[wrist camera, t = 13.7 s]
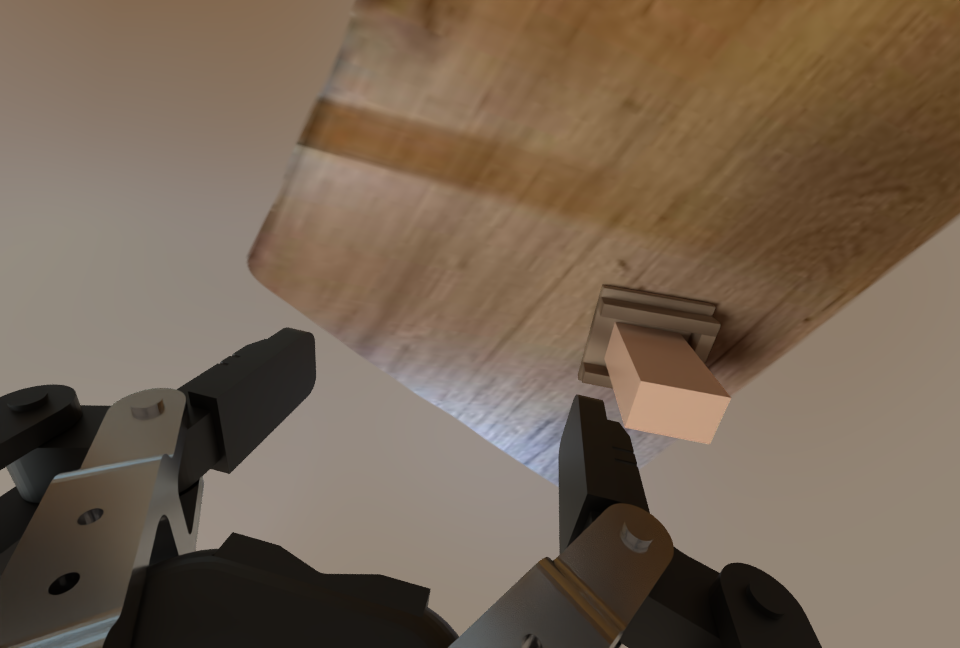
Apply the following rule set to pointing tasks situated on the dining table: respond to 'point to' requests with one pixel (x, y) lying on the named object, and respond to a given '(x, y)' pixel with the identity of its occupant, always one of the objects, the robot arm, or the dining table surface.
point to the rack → (644, 325)
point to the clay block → (663, 384)
